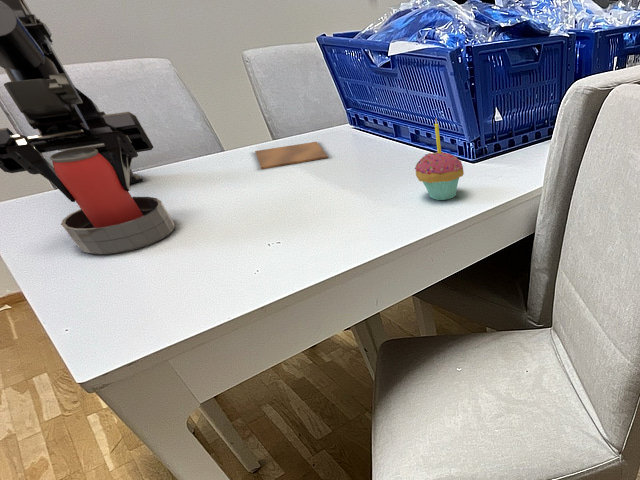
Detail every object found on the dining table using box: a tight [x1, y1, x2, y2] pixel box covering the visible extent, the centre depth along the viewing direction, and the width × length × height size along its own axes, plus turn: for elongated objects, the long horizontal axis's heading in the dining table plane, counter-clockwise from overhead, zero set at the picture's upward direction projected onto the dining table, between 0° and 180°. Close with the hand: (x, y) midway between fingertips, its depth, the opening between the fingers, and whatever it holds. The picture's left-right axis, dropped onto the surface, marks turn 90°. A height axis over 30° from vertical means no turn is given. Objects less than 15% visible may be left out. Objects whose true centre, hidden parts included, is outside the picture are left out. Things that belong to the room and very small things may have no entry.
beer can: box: [49, 148, 144, 228], centre depth 68 cm, size 7×7×12 cm
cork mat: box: [254, 141, 329, 170], centre depth 102 cm, size 14×14×1 cm
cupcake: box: [414, 117, 465, 201], centre depth 78 cm, size 9×8×12 cm
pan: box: [60, 196, 175, 255], centre depth 71 cm, size 13×13×4 cm
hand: (99, 195), depth 66 cm, fingers closed on beer can, 6 cm apart
